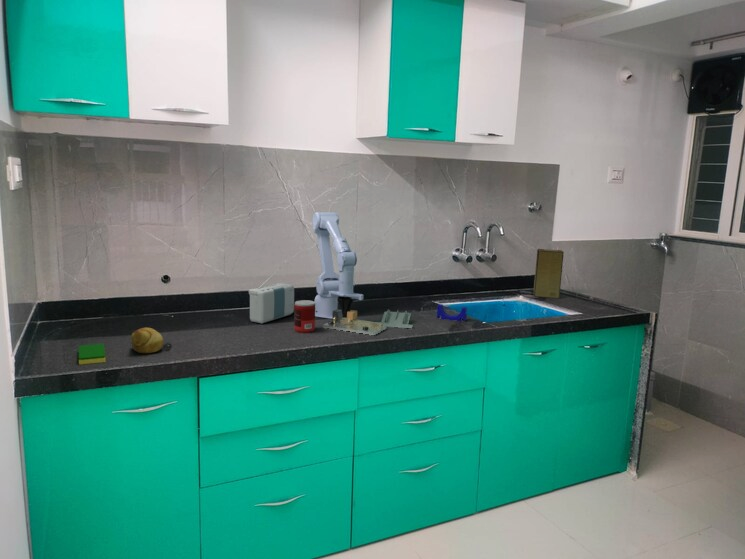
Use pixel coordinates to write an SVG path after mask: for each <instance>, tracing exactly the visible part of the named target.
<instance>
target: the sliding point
mask: <svg viewBox="0 0 745 559" xmlns="http://www.w3.org/2000/svg"><path fill="white" fill-rule="evenodd" d="M346 318H347V319H348V324H350V320H354V319H358V310H356V309H355V310H354V309H353V310H352V309H351V310H349V311H348V312H347V316H346Z"/></svg>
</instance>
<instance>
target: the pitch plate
mask: <svg viewBox="0 0 745 559" xmlns="http://www.w3.org/2000/svg"><path fill="white" fill-rule="evenodd" d="M377 322H378V321H375V322H374V321H368V320H362V319H358V318H356V319H354V320H350V324H348V319H347V317H344V316H343V315H342V310H341V309H339V308H337V309H336V310H334V311H333V313H332V319H331V320H329V321H328V322H326V323H324V324H322V328H323V329H327V328H329V329H328V330H333V329H336V330H335V331H340V330H343V331H342V332H346V331H350V332H349V333H352V332H356V333H355V334H359V333H363V334H362V335H365V334H369V335H368V336H371V335H375V336H377V335H378V333H379V334H380V333H382V332H383V330H384V331H385V330H387V328H388V327H387V326H384V325H383V323H377ZM381 331H382V332H381ZM376 334H377V335H376Z"/></svg>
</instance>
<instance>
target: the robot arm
mask: <svg viewBox="0 0 745 559" xmlns="http://www.w3.org/2000/svg"><path fill="white" fill-rule="evenodd" d="M339 224H340V218H339V214H338V212H336V211H334V212H331V211H330V212H329V211H327V212H324V211H323V212H322V211H320V212H318V211H316V212H315V213H313V215H312V227H313V232H314V234H316V235H317V243H318V250H319V258H320V265H321V266H320V267H321V274H320V275H318V276H317V278H316V293H317V294H316V296H315V298H314V302H315V317H316V318H317V317H319V318H323V319H324V318H325V319H329V320H332V313H333V311H334V310H336V309H338V304H339V307H340V310H342V315H343V316H342V317H347V312H348V311H350V309H351V306H352V304H353V302H354V301H355V300H359V301H362V300H364V294H362V293H356V292H354V280H355V278H354V277H355V274H354V273H355V266H356V265H357V263H358V256H357V252H355V251H354V250H353V249H351V247H350V246H349V243H348V241H347V239H346V237H343V236H342V232H341V230H340V228H339ZM330 236H331V237H330ZM330 238H332V240H333V242H332V245H331V240H330ZM331 246H333V248H334V251H335V254H336V255H337V258H336V263H337V269H338V272H339V273H338V274H337V273H336V272H335V269H334V262H333V255H332V254H333V253H332V248H331Z"/></svg>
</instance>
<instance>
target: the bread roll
mask: <svg viewBox="0 0 745 559" xmlns="http://www.w3.org/2000/svg"><path fill="white" fill-rule="evenodd" d="M130 336H131V338H130V339H131V347H132V349H133V350H134V351H135V352H136V353H138V354H151V353H156V352H159V351H160V350H161V349H162V348H163V346H164V343H165V342H164V337H163V336H162V334H161V332H159V331H157V330H156V329H154V328H151V327H141V328H139V329H136V330H134V331H133V332H132V334H131V335H130Z"/></svg>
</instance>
